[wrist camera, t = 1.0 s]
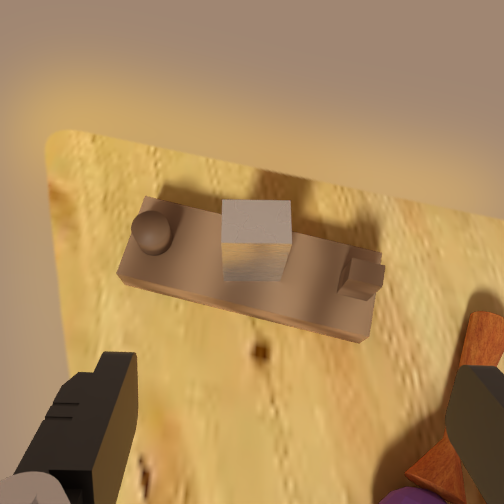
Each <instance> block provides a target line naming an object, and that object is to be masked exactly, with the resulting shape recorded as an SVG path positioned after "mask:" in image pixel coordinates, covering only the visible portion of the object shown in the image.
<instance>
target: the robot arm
mask: <svg viewBox="0 0 504 504" xmlns="http://www.w3.org/2000/svg"><path fill="white" fill-rule="evenodd" d="M137 417H138V376H137V355H136V353H135V352H106V351H105V352H103V354H102V355H101V358H100V360H99V362H98V364H97V366H96V368H95V370H94V373H90V372H78V373H77V374H76V375H75V376H73V377H72V378H71V379H70V380H68V381H67V382H66V383H65V384H64V385H62V386H61V388H60V390H59V392H58V394H57V396H56V398H55V399H54V401H53V405H52V406H51V407H50V409H49V410H48V412H47V414H46V416H45V420H43V421H42V423H41V425H40V427H39V429H38V431H37V432H36V434H35V436H34V438H33V440H32V441H31V443H30V445H29V447H28V449H27V451H26V452H25V454H24V456H23V458H22V460H21V462H20V464H19V465H18V467H17V469H16V471H15V472H14V474H13V475H12V476H10V477H7V478H5V479H3V480H1V481H0V504H116V501H117V497H118V493H119V490H120V486H121V482H122V479H123V475H124V471H125V468H126V464H127V460H128V456H129V453H130V449H131V445H132V442H133V438H134V434H135V430H136V425H137ZM445 426H446V432H447V435H448V438H449V440H450V442H451V444H452V446H453V447H454V449H455V451H456V452H457V454H458V456H459V457H460V459H461V461H462V463H463V464H464V466H465V468H466V469H467V471H468V473H469V474H470V476H471V478H472V479H473V481H474V483H475V484H476V486H477V488H478V490H479V491H480V493H481V495H482V496H483V498H484V500H485V501H486V503H487V504H504V374H503V373H502V372H501V371H500V370H499V369H498V368H497V367H495V366H485V365H462V366H461V367H460V368H459V369H458V371H457V375H456V378H455V382H454V386H453V389H452V393H451V397H450V400H449V404H448V408H447V412H446V417H445Z"/></svg>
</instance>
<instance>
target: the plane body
mask: <svg viewBox="0 0 504 504" xmlns="http://www.w3.org/2000/svg"><path fill="white" fill-rule="evenodd" d="M131 231H132V233H131V236H130V238H129V241H128V244H127V246H126V249H125V252H124V254H123V257H122V260H121V262H120V265H119V268H118V271H117V273H116V274H117V275H118V276H119V278H120V279H121V280H122V282H123V283H124V284H125V285H128V286H132V287H136V288H140V289H144V290H148V291H152V292H156V293H160V294H164V295H168V296H172V297H176V298H180V299H184V300H188V301H192V302H196V303H200V304H204V305H208V306H212V307H216V308H220V309H224V310H228V311H232V312H236V313H240V314H244V315H248V316H252V317H256V318H259V319H263V320H267V321H271V322H275V323H279V324H283V325H287V326H291V327H295V328H299V329H303V330H307V331H311V332H315V333H319V334H323V335H327V336H331V337H335V338H339V339H343V340H347V341H351V342H355V343H361V342H362V341H364V340H365V339H367V338H368V337H369V334H370V328H371V321H372V315H373V308H374V302H375V295H376V292H377V291H378V290H379V289H380V288H381V287H382V285H383V279H384V272H385V265H380V263H381V257H382V253H380V252H376V251H372V250H368V249H363V248H359V247H355V246H351V245H347V244H343V243H338V242H334V241H330V240H326V239H322V238H318V237H314V236H309V235H305V234H301V233H297V232H293V231H292V246H291V249H290V252H289V255H288V258H287V261H286V264H285V267H284V270H283V274H282V277H281V280H280V281H224V277H223V262H222V247H221V231H222V214H218V213H214V212H210V211H205V210H201V209H197V208H193V207H189V206H185V205H181V204H176V203H172V202H168V201H164V200H160V199H156V198H151V197H147V196H145V198H144V201H143V203H142V206H141V209H140V211H139V214H138V216H137V217H136V218H135V219H134V220H133V223H132V226H131Z"/></svg>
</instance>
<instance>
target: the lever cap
mask: <svg viewBox="0 0 504 504" xmlns="http://www.w3.org/2000/svg"><path fill="white" fill-rule="evenodd" d="M291 246H292V226H291V200H225V199H222V231H221V247H222V262H223V277H224V281H280V280H281V277H282V274H283V270H284V267H285V264H286V261H287V258H288V255H289V252H290V249H291Z"/></svg>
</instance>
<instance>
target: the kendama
mask: <svg viewBox="0 0 504 504" xmlns="http://www.w3.org/2000/svg"><path fill="white" fill-rule="evenodd" d="M503 352H504V318H503V317H502V316H500V315H497V314H494V313H491V312H484V311H478V312H473V313H472V314H470V318H469V323H468V328H467V332H466V337H465V341H464V346H463V350H462V355H461V359H460V364H459V368H460V367H461V366H462V365H485V366H495V367H497V365H498V363H499V360H500V358H501V356H502V354H503ZM459 368H458V369H459ZM405 476H406V477H407V478H408V479H409V480H410V481H412V482H413V483H415V484H416V485H418V486H419V487H421V488H415V487H404V488H400V489H397V490H394V491H391V492H390V493H389V494H388V495H387V496H386V497H385V498H384V499H383V500H382V501H380V502H379V503H378V504H447V503H446V502H445V501H448V502H450V503H453V504H466V496H465V489H464V482H463V474H462V467H461V460H460V457H459V456H458V454H457V452H456V451H455V449H454V447H453V446H452V444H451V442H450V440H449V438H448V435H447V432H446V427H445V432H444V436H443V439H442V440H441V441H439V442H438V443H437V444H436V445H435V446H434V447H433V448H432V449H431V450H429V451H428V452H427V453H426V454H425V455H424V456H423V457H422V458H421V459H419V460H418V461H417V462H416V463H415V464H414V465H413V466H412V467H411V468H410V469H408V470H407V471H406V472H405ZM444 500H445V501H444Z"/></svg>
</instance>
